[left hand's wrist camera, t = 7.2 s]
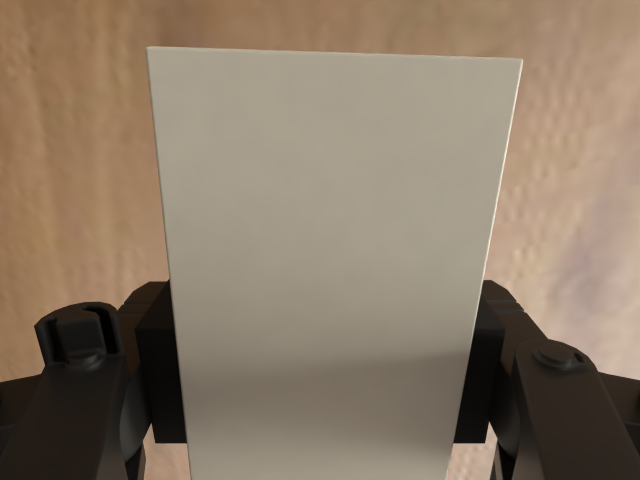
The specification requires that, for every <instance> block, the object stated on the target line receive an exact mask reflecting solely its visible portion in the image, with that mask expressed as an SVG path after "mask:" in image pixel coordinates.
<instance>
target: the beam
mask: <svg viewBox="0 0 640 480" xmlns="http://www.w3.org/2000/svg"><path fill="white" fill-rule="evenodd" d="M145 52H146V61H147V71H148V80H149V90H150V99H151V108H152V118H153V127H154V137H155V146H156V156H157V165H158V174H159V184H160V193H161V203H162V212H163V222H164V231H165V240H166V250H167V259H168V269H169V278H170V288H171V297H172V306H173V316H174V325H175V335H176V344H177V354H178V363H179V372H180V382H181V391H182V401H183V410H184V420H185V429H186V438H187V448H188V457H189V467H190V476H191V480H447V474H448V469H449V463H450V458H451V453H452V447H453V442H454V436H455V431H456V425H457V420H458V414H459V409H460V403H461V398H462V393H463V387H464V382H465V376H466V371H467V365H468V360H469V354H470V349H471V343H472V338H473V332H474V327H475V322H476V316H477V311H478V305H479V300H480V294H481V289H482V283H483V278H484V272H485V267H486V261H487V256H488V251H489V245H490V240H491V234H492V229H493V223H494V218H495V212H496V207H497V201H498V196H499V191H500V185H501V180H502V174H503V169H504V163H505V158H506V152H507V147H508V141H509V136H510V130H511V125H512V120H513V114H514V109H515V103H516V98H517V92H518V87H519V81H520V76H521V70H522V65H523V60H522V59H521V58H502V57H470V56H439V55H408V54H377V53H345V52H314V51H283V50H251V49H220V48H189V47H157V46H148V47H146V50H145Z"/></svg>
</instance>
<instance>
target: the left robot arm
mask: <svg viewBox="0 0 640 480" xmlns="http://www.w3.org/2000/svg"><path fill="white" fill-rule="evenodd" d="M34 328H35V331H36V335H37V338H38V342H39V345H40V349H41V352H42V356H43V359H44V363H45V367H44V369H43V371H42V373H41V374H39V375H35V376H30V377H25V378H20V379H15V380H10V381H5V382H0V480H144V471H145V463H146V457H145V450H144V445H143V439H144V437H145V435H146V433H147V431H148V429H149V427H150V424H151V422H152V428H153V433H154V439H155V443H187V438H186V429H185V420H184V410H183V401H182V391H181V382H180V372H179V363H178V354H177V344H176V335H175V325H174V316H173V306H172V297H171V288H170V278H169V280H168V281H167V282H148V283H146V284H144V285H143V286H141V287H139V288H138V289H136V290H135V291H133V292H132V293H131V295H130V296H129V297H128V298H127V300H126V301H125V302H124V305H122V306H121V307H120V308H119V309H118V311H117V309H116V308H115V307H113V306H112V305H111V304H108V303H103V302H83V303H78V304H73V305H69V306H66V307H63V308H61V309H58V310H55V311H53V312H51V313H50V314H48V315H46V316H44V317H43V318H41V319H40V320H39V321H38V322H37V323H36V325H35V326H34ZM489 422H490V424H491V426H492V428H493V430H494V432H495V434H496V436H497V438H498V440H497V445H496V450H495V455H494V460H493V465H492V470H491V475H490V480H640V380H635V379H630V378H625V377H620V376H615V375H610V374H605V373H601V372H598V370H597V368H596V366H595V365H594V363H593V362H592V361H591V360H590V359H589V357H588V356H587V355H585V354H584V353H582V352H581V351H579V350H578V349H576V348H574V347H572V346H569V345H567V344H565V343H562V342H559V341H554V340H550V339H548V338H547V337H546V336H545V335H544V334H543V332H542V331H541V330H540V329H539V327H538V326H537V325H536V324H535V323H534V321H533V320H532V319H531V318H530V317H529V315H528V314H527V313H524V309H523V308H522V307H521V306H520V305H519V303H516V300H515V299H514V297H513V296H512V295H511V294H510V292H509V291H508V290H507V289H505V288H503V287H502V286H500V285H499V284H497V283H495V282H494V281H492V280H483V283H482V289H481V294H480V300H479V305H478V311H477V316H476V322H475V327H474V332H473V338H472V343H471V349H470V354H469V360H468V365H467V371H466V376H465V382H464V387H463V393H462V398H461V403H460V409H459V414H458V420H457V425H456V431H455V436H454V442H453V443H485V440H486V435H487V430H488V424H489Z"/></svg>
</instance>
